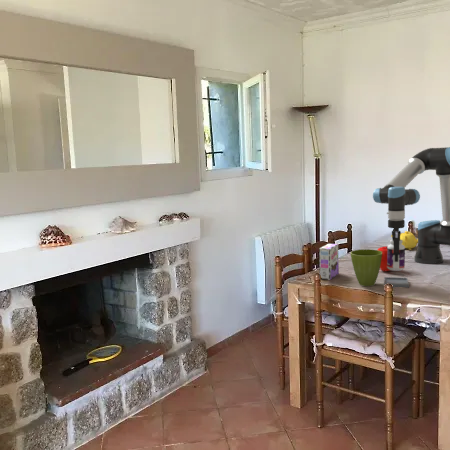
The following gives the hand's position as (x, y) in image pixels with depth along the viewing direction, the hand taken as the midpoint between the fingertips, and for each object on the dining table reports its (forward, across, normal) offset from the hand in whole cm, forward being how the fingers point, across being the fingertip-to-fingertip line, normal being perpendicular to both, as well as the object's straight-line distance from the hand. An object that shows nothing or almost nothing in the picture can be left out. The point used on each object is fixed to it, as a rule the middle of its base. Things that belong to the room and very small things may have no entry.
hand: (395, 265), depth 244 cm
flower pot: (+10, +1, -14) cm, 17 cm away
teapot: (+9, -86, +9) cm, 87 cm away
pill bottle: (+2, 0, 0) cm, 2 cm away
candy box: (+10, -12, -33) cm, 36 cm away
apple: (+9, -27, -4) cm, 29 cm away
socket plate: (+9, 0, 0) cm, 9 cm away
